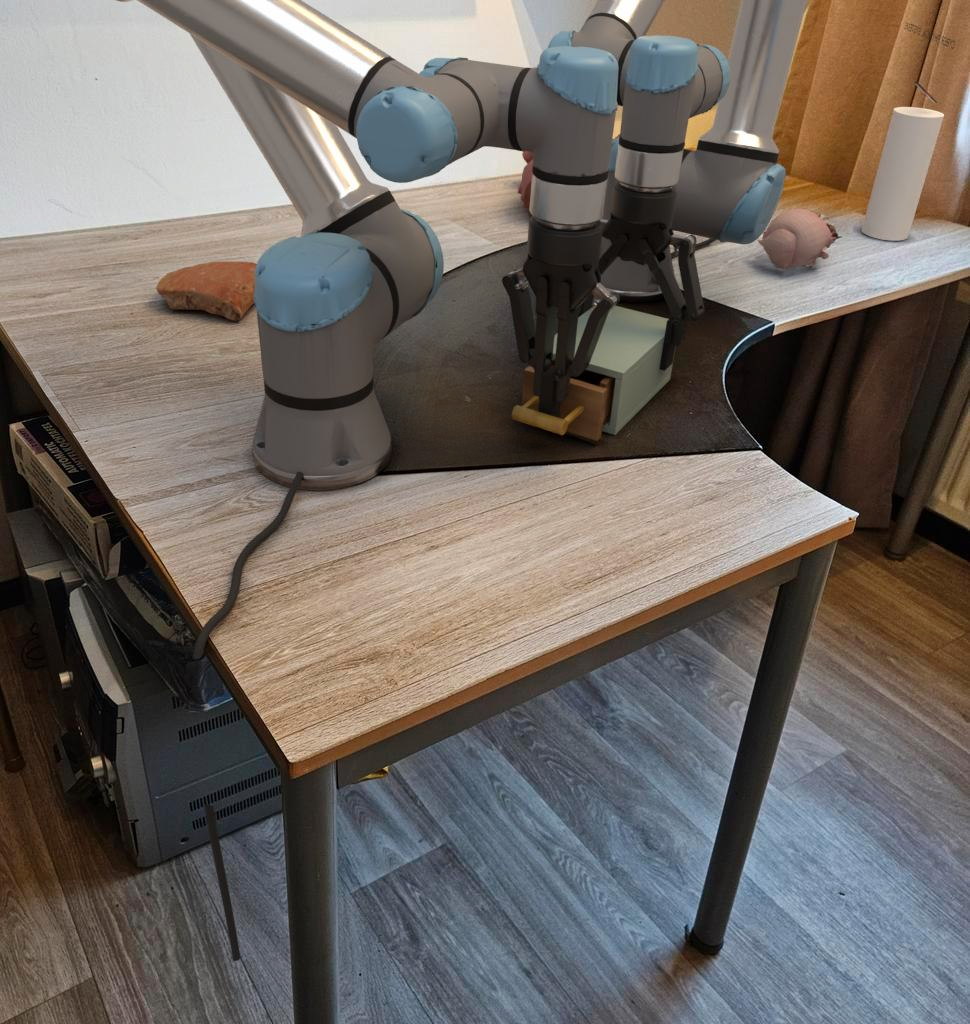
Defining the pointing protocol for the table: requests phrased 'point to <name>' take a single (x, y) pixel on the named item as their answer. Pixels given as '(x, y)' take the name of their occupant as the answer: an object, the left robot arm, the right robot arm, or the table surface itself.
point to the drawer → (571, 405)
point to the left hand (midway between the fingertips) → (548, 422)
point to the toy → (798, 238)
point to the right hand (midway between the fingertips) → (622, 354)
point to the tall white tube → (902, 168)
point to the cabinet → (627, 360)
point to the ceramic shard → (211, 288)
